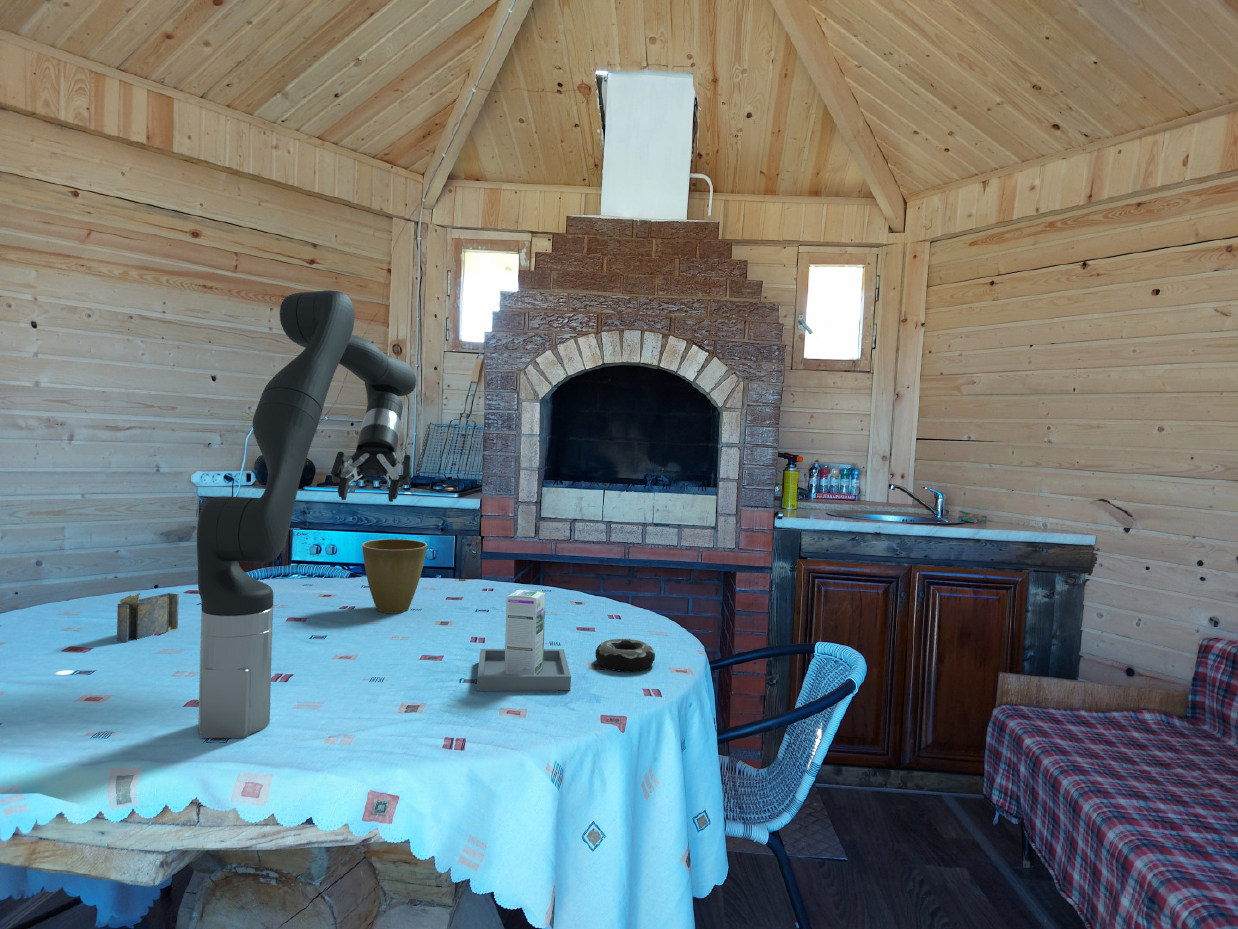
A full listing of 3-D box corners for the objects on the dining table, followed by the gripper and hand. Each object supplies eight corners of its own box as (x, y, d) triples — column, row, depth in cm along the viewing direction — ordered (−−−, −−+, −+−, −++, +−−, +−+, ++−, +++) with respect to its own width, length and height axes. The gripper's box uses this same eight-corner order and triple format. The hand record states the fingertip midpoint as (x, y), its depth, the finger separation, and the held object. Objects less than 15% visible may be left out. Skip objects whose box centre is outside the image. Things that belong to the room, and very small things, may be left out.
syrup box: (534, 678, 132) (538, 597, 132) (502, 674, 133) (506, 594, 133) (543, 668, 138) (546, 591, 137) (512, 665, 139) (516, 588, 138)
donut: (640, 654, 153) (641, 635, 153) (663, 672, 142) (665, 651, 142) (587, 657, 149) (588, 638, 149) (606, 676, 138) (607, 655, 138)
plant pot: (348, 607, 179) (351, 541, 178) (405, 600, 189) (407, 537, 188) (378, 620, 168) (380, 550, 167) (436, 612, 179) (438, 545, 178)
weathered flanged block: (128, 645, 144) (129, 595, 143) (116, 643, 145) (117, 593, 144) (179, 631, 154) (180, 584, 154) (168, 629, 155) (169, 583, 155)
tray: (570, 690, 129) (570, 676, 129) (476, 691, 127) (477, 676, 127) (563, 661, 145) (563, 649, 145) (479, 661, 143) (480, 648, 142)
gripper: (339, 420, 145) (323, 483, 135) (414, 424, 148) (404, 486, 137) (344, 447, 151) (329, 509, 140) (416, 450, 153) (407, 512, 142)
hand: (366, 498), depth 138 cm, fingers open, 8 cm apart
